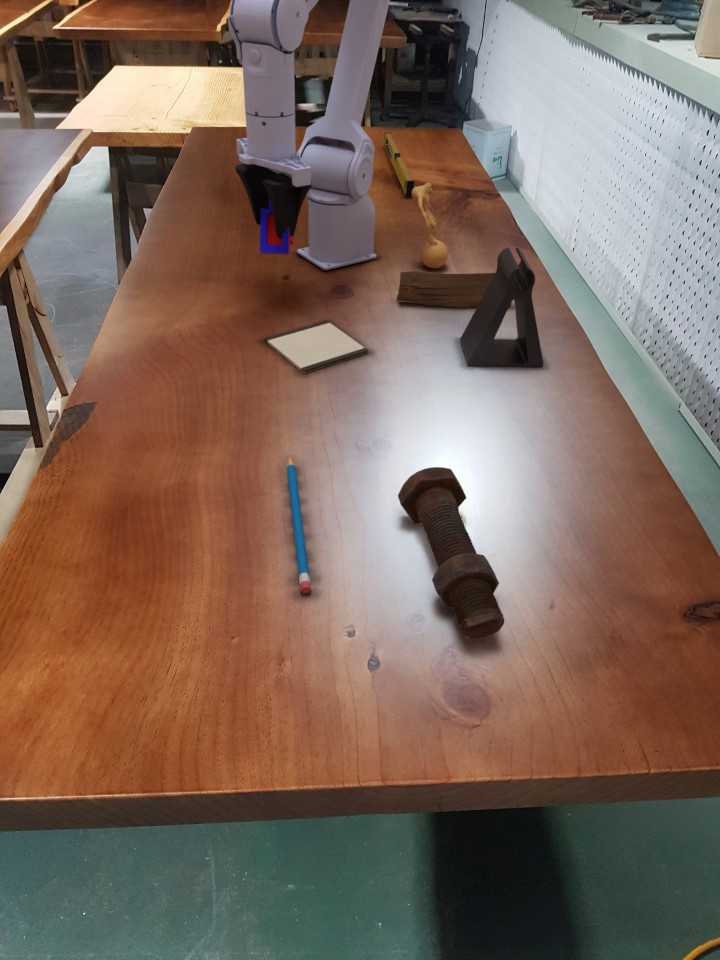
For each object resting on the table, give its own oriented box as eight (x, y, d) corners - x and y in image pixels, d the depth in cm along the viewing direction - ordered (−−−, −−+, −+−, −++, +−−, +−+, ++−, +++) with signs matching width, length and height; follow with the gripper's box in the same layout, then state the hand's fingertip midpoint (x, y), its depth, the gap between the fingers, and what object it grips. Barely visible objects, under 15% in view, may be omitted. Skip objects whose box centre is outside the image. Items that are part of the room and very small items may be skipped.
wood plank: (508, 303, 97) (514, 267, 94) (511, 309, 96) (518, 274, 92) (396, 302, 96) (399, 266, 93) (397, 308, 95) (400, 272, 91)
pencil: (300, 593, 55) (300, 587, 55) (285, 459, 68) (285, 453, 68) (311, 592, 55) (311, 586, 55) (293, 459, 68) (293, 453, 68)
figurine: (446, 279, 102) (456, 193, 95) (404, 276, 102) (411, 190, 95) (445, 257, 109) (455, 175, 101) (406, 254, 109) (413, 172, 101)
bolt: (466, 662, 53) (416, 521, 64) (528, 633, 52) (467, 496, 63) (437, 624, 49) (389, 482, 60) (503, 593, 48) (442, 454, 59)
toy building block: (293, 258, 92) (294, 193, 91) (288, 253, 88) (290, 185, 87) (265, 257, 92) (267, 192, 91) (259, 252, 88) (261, 184, 87)
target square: (327, 323, 90) (326, 320, 90) (368, 353, 85) (368, 350, 85) (264, 341, 86) (264, 337, 86) (304, 373, 81) (304, 370, 80)
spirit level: (412, 198, 130) (414, 180, 128) (405, 197, 130) (406, 180, 128) (390, 147, 156) (391, 132, 154) (384, 147, 155) (384, 132, 154)
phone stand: (531, 342, 88) (551, 248, 81) (542, 367, 84) (565, 269, 76) (459, 341, 88) (473, 246, 80) (466, 366, 83) (481, 267, 76)
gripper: (210, 102, 85) (220, 217, 93) (270, 129, 76) (275, 254, 84) (262, 96, 88) (267, 208, 96) (326, 122, 79) (325, 243, 87)
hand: (274, 229), depth 90 cm, fingers closed on toy building block, 5 cm apart
